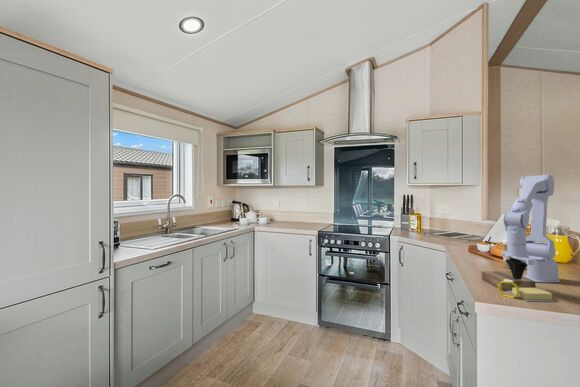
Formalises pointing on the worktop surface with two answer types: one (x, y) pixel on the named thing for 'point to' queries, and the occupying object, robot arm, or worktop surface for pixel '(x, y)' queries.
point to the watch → (509, 283)
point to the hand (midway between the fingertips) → (517, 278)
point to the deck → (499, 276)
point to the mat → (534, 299)
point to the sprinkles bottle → (504, 256)
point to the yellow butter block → (532, 293)
